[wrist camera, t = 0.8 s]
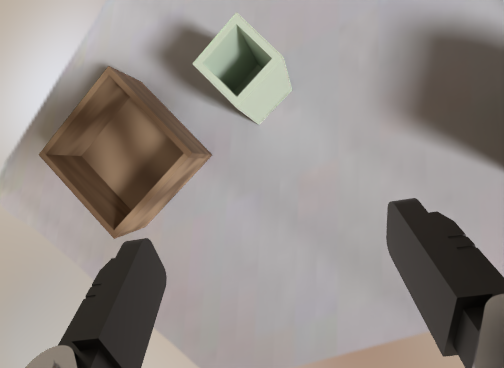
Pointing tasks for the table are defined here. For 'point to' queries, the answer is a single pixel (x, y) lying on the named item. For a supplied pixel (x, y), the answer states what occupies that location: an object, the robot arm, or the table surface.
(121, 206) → the walnut crate
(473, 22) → the table surface
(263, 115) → the green square vase
